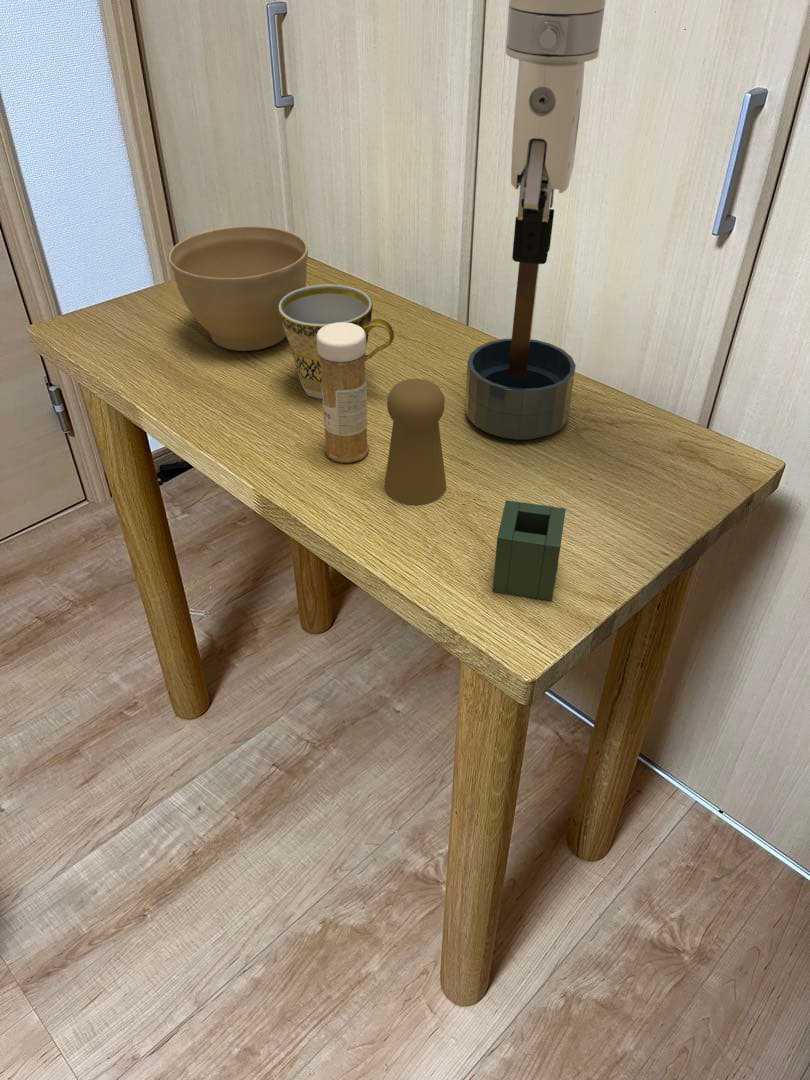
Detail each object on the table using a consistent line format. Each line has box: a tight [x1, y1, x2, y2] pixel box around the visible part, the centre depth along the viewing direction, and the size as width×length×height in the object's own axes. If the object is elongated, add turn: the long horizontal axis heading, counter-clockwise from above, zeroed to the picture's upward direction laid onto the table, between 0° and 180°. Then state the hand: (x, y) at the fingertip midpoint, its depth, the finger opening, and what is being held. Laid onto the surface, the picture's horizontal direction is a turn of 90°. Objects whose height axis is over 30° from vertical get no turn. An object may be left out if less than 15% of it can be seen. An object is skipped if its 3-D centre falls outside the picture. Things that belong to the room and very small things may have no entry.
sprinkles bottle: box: [317, 322, 370, 464], centre depth 82 cm, size 5×5×14 cm
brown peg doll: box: [383, 378, 447, 506], centre depth 79 cm, size 6×6×11 cm
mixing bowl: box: [464, 337, 577, 441], centre depth 90 cm, size 11×11×6 cm
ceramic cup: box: [279, 283, 395, 400], centre depth 93 cm, size 13×10×10 cm
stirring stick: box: [508, 194, 545, 377], centre depth 82 cm, size 2×2×18 cm
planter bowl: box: [168, 225, 309, 352], centre depth 103 cm, size 16×16×11 cm
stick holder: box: [491, 499, 566, 602], centre depth 71 cm, size 5×5×6 cm
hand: (531, 254), depth 80 cm, fingers closed on stirring stick, 1 cm apart
